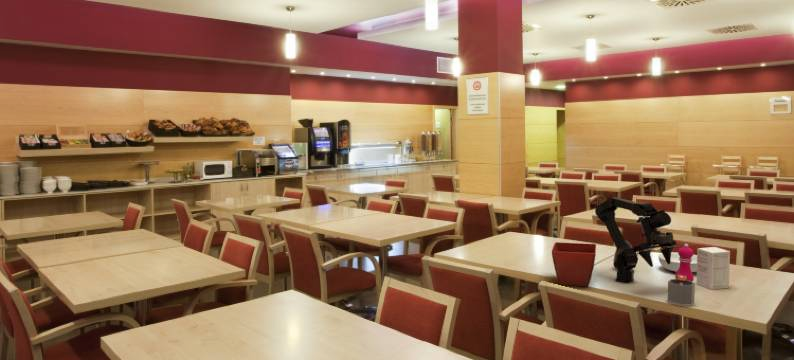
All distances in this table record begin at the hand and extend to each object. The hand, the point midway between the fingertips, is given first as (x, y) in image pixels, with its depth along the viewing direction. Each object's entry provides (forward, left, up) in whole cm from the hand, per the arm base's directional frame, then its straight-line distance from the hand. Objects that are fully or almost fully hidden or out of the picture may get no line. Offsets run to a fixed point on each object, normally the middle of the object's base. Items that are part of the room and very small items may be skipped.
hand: (660, 265), depth 230 cm
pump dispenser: (-26, +27, -13) cm, 39 cm away
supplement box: (+14, +25, -13) cm, 32 cm away
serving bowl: (-4, +43, -13) cm, 45 cm away
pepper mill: (+5, +15, -13) cm, 20 cm away
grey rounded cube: (+10, -7, -12) cm, 17 cm away
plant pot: (-36, -8, -13) cm, 39 cm away
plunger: (+10, -7, -9) cm, 15 cm away
